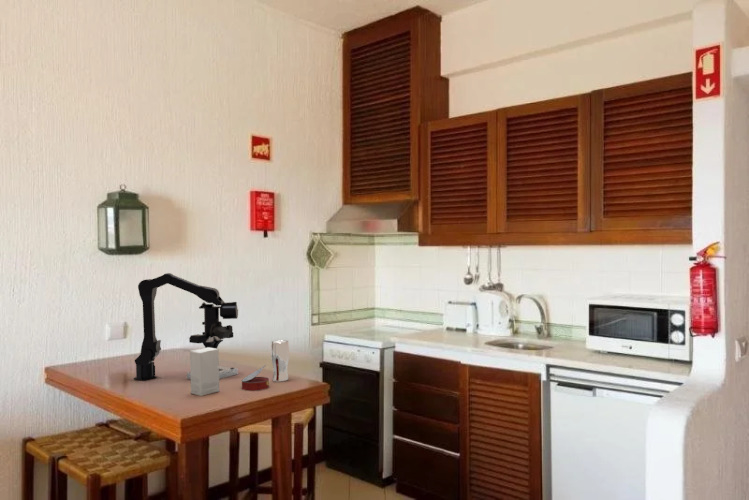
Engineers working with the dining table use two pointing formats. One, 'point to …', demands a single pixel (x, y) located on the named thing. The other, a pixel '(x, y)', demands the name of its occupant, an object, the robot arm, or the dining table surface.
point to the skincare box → (204, 371)
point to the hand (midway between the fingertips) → (212, 357)
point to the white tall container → (280, 360)
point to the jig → (222, 372)
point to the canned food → (255, 381)
